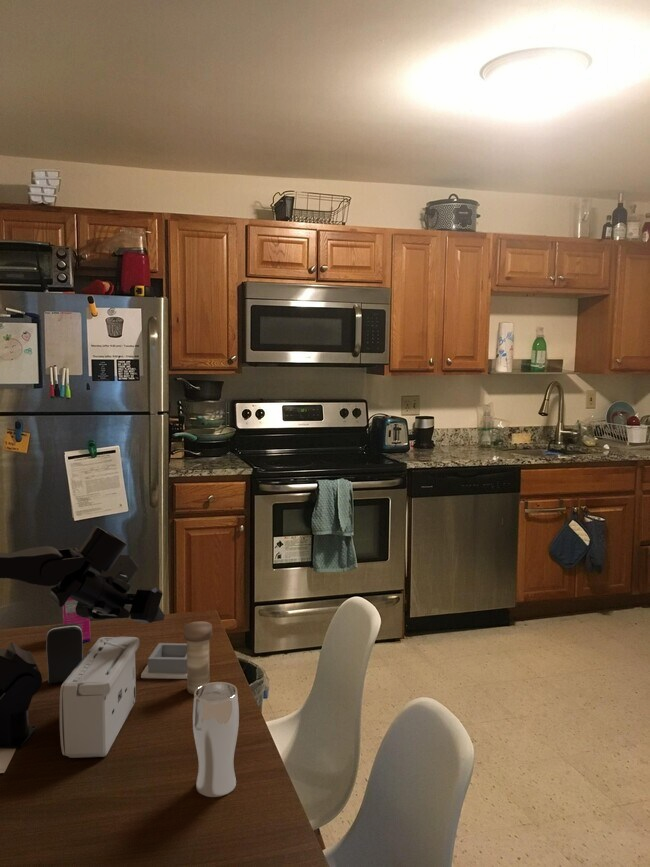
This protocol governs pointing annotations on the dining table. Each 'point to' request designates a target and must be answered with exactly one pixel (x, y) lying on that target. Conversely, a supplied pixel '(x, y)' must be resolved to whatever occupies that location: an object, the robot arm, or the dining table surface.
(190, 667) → the maple knob
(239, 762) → the dining table surface
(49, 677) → the battery charger
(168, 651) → the plate
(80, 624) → the supplement box
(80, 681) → the stereo radio cassette player
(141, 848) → the dining table surface
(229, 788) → the beer glass
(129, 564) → the robot arm
